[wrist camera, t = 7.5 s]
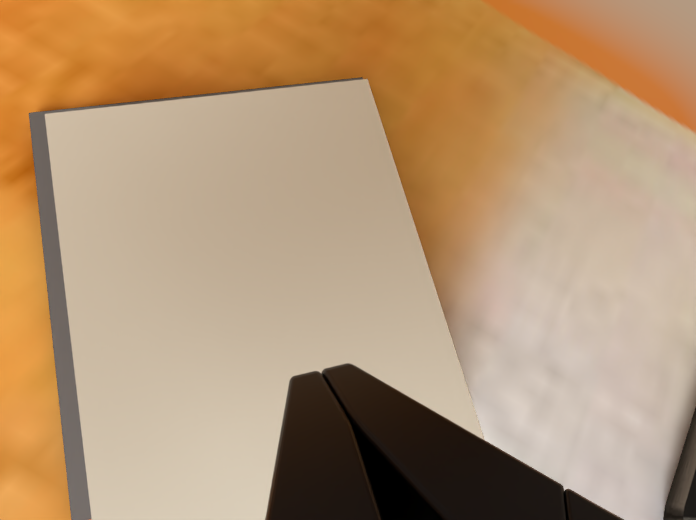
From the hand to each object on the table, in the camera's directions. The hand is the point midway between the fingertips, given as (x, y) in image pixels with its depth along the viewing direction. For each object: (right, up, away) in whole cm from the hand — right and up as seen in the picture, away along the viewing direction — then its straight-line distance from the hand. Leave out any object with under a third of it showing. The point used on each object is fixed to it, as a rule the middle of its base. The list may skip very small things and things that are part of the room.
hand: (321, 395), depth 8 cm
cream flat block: (-1, -4, +5) cm, 6 cm away
